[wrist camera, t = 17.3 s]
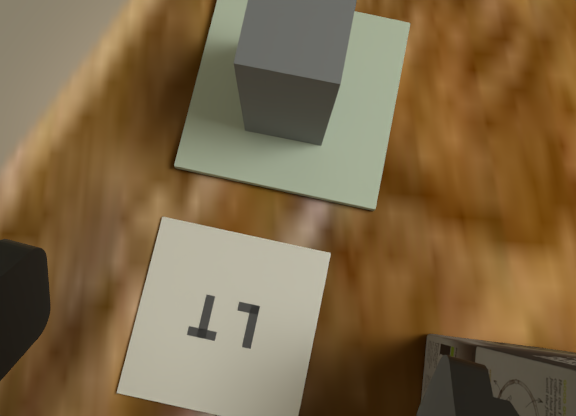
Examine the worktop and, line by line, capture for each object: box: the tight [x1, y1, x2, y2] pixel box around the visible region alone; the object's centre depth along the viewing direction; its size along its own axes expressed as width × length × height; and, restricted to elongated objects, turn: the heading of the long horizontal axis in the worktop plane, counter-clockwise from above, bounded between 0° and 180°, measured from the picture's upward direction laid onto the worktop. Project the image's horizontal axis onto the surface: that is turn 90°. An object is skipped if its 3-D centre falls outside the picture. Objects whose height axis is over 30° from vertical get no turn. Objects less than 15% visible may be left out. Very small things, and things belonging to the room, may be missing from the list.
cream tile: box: [117, 217, 331, 416], centre depth 29 cm, size 10×10×1 cm
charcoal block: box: [234, 0, 356, 146], centre depth 27 cm, size 5×6×9 cm
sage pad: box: [174, 0, 410, 211], centre depth 32 cm, size 12×12×1 cm
